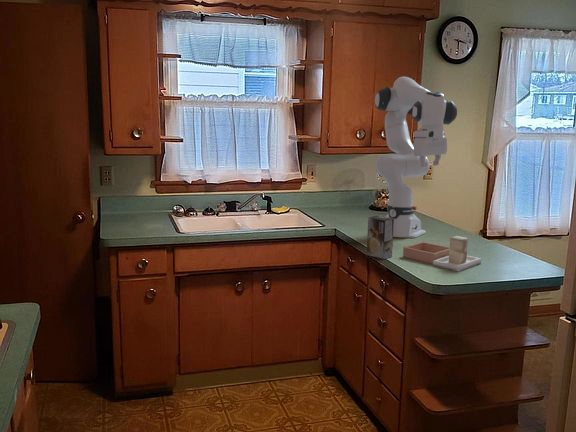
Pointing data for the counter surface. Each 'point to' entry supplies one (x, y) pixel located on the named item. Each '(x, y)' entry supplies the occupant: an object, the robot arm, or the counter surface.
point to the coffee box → (380, 237)
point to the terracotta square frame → (425, 251)
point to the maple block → (458, 250)
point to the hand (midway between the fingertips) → (429, 166)
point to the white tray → (447, 265)
